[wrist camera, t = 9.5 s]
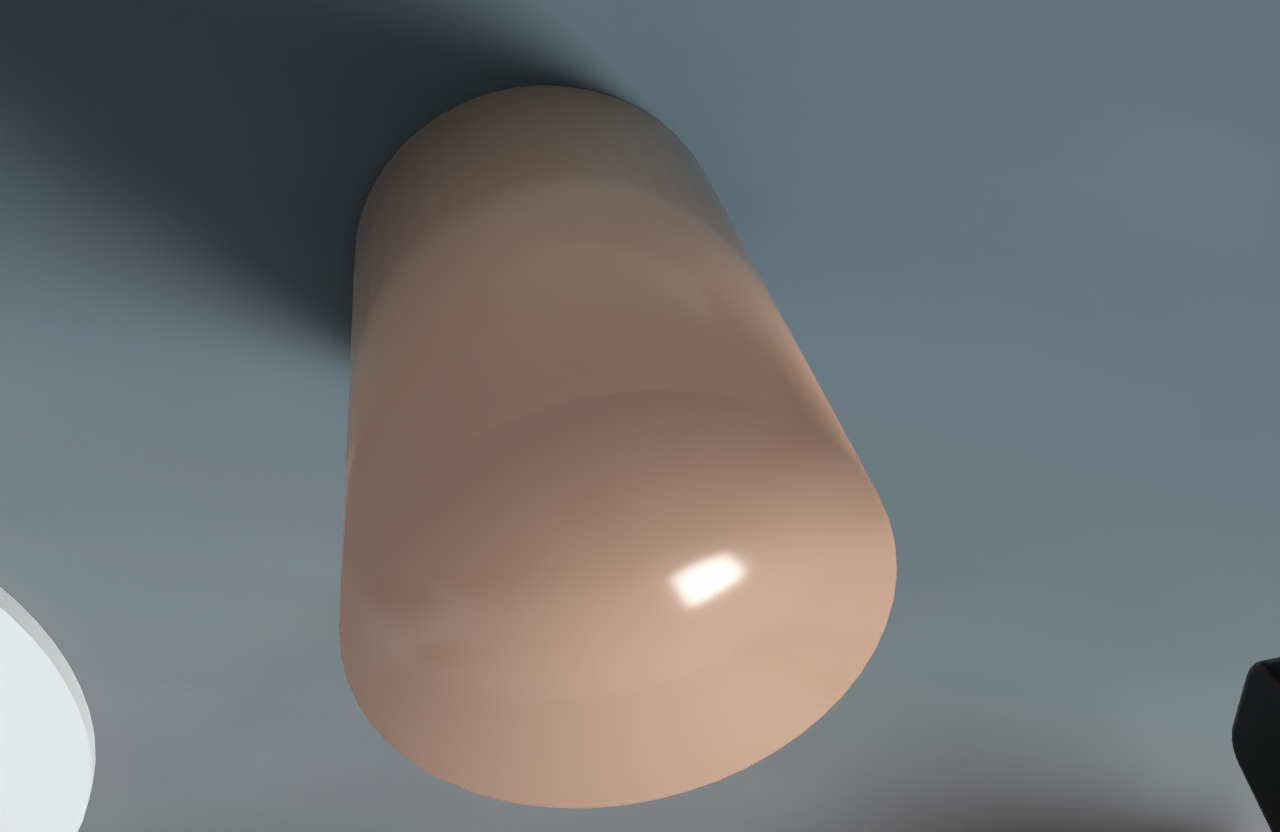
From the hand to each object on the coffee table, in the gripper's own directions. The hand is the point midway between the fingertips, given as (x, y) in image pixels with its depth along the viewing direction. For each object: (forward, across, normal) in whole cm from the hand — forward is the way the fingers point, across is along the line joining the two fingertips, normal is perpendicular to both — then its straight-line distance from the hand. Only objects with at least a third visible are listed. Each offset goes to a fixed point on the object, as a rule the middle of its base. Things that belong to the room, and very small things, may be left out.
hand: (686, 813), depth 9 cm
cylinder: (+9, 0, 0) cm, 9 cm away
